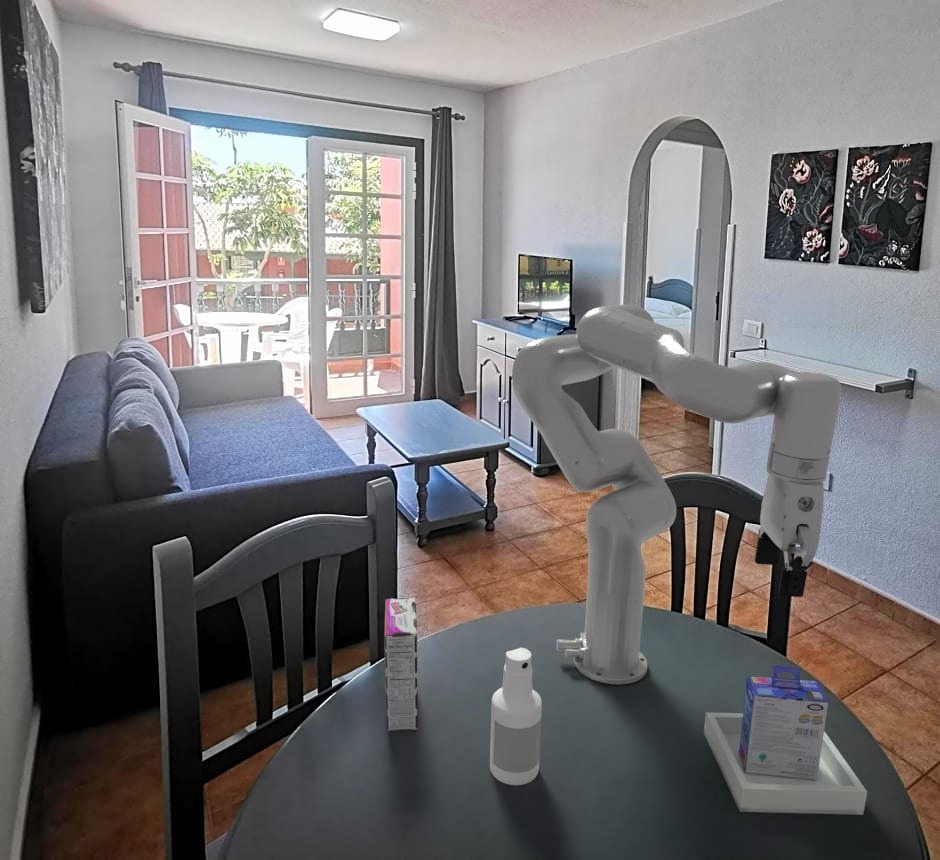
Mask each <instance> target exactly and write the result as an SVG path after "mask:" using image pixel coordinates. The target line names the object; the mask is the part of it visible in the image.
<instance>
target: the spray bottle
mask: <svg viewBox="0 0 940 860" xmlns="http://www.w3.org/2000/svg"><path fill="white" fill-rule="evenodd" d="M502 678H503V679H502V687H500V688H499V689H498V690H495V692H494V693H493V695H492V697H491V714H490V715H491V716H490V719H491V720H490V746H489V747H490V748H489V750H490V751H489V770H490V772H491V774H492V776H493V777H494V778H495V779H496V780H497V781H499V782H500V783H503V784H505V785H508V786H509V785H510V786H522V785H527V784H528V783H531V782H532V781H534V779H535V778H536V777H537V776H538V774H539V770H540V753H541V735H542V734H541V731H542V715H543V714H542V711H543V702H542V698H541V696H540V694H539V693H538V692H537V691H536V690H534V689H533V687H534V684H533V666H532V652H531V651H530V649H529V650H528V649H527V648H525V647H519V648H516V649H512V650H508V651H506V653H505V663H504V666H503V677H502Z"/></svg>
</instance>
